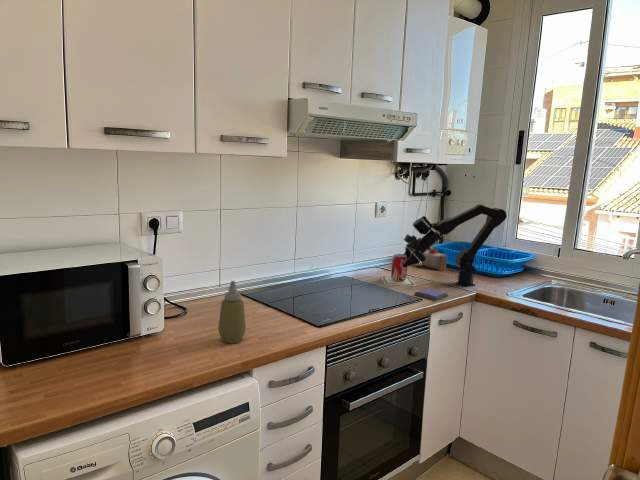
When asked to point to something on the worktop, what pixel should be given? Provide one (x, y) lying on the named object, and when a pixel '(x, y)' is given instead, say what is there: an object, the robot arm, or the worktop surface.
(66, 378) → the worktop surface
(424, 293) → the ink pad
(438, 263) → the food item
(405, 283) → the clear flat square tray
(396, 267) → the soda can
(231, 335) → the squeeze bottle
